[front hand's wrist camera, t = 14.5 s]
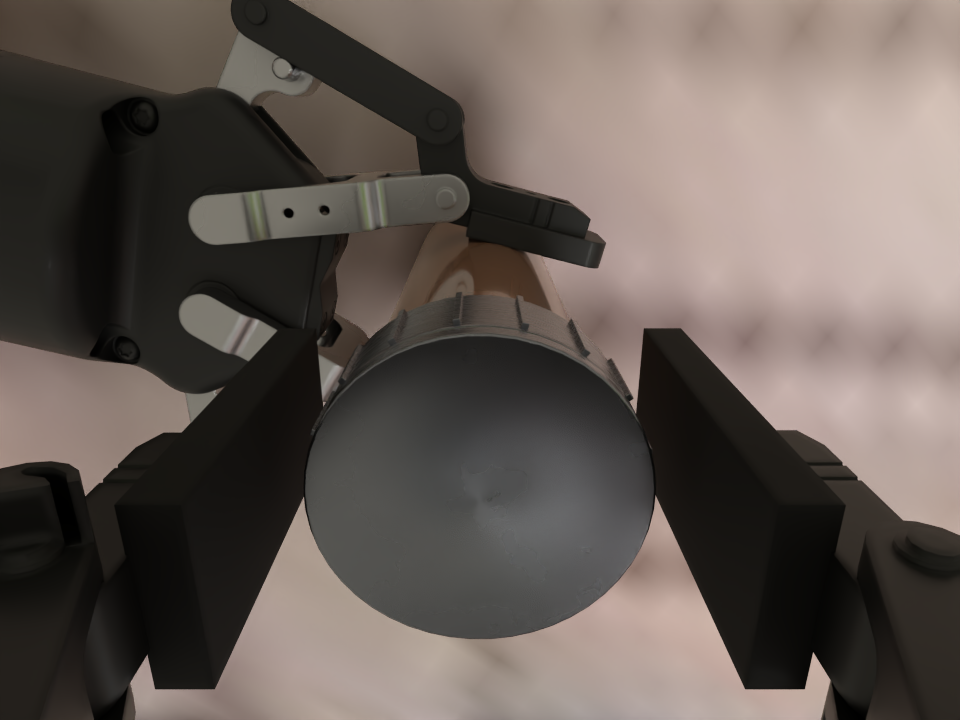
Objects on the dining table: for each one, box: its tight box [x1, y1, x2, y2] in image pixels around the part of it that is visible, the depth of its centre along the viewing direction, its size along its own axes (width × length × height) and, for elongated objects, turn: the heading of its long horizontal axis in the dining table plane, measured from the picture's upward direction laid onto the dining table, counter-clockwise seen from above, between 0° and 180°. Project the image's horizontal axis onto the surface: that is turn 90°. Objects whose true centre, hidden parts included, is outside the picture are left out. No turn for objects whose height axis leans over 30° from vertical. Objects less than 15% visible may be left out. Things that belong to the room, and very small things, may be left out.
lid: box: [303, 292, 656, 639], centre depth 11 cm, size 5×5×2 cm
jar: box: [389, 222, 570, 322], centre depth 18 cm, size 5×5×16 cm
